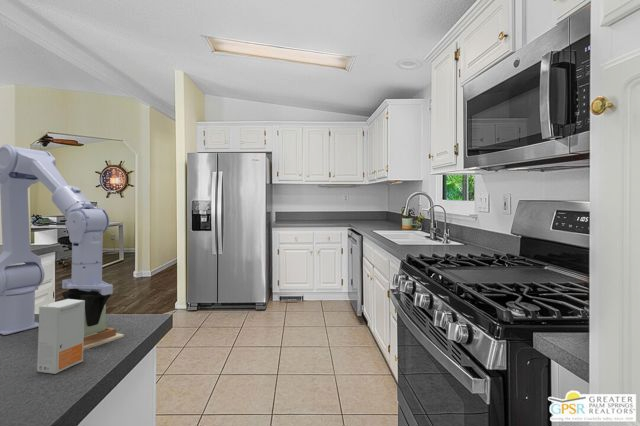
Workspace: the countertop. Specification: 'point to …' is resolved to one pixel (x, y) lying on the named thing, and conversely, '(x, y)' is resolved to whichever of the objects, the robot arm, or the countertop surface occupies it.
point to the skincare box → (60, 335)
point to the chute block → (95, 328)
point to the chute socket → (100, 338)
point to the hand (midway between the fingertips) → (86, 323)
